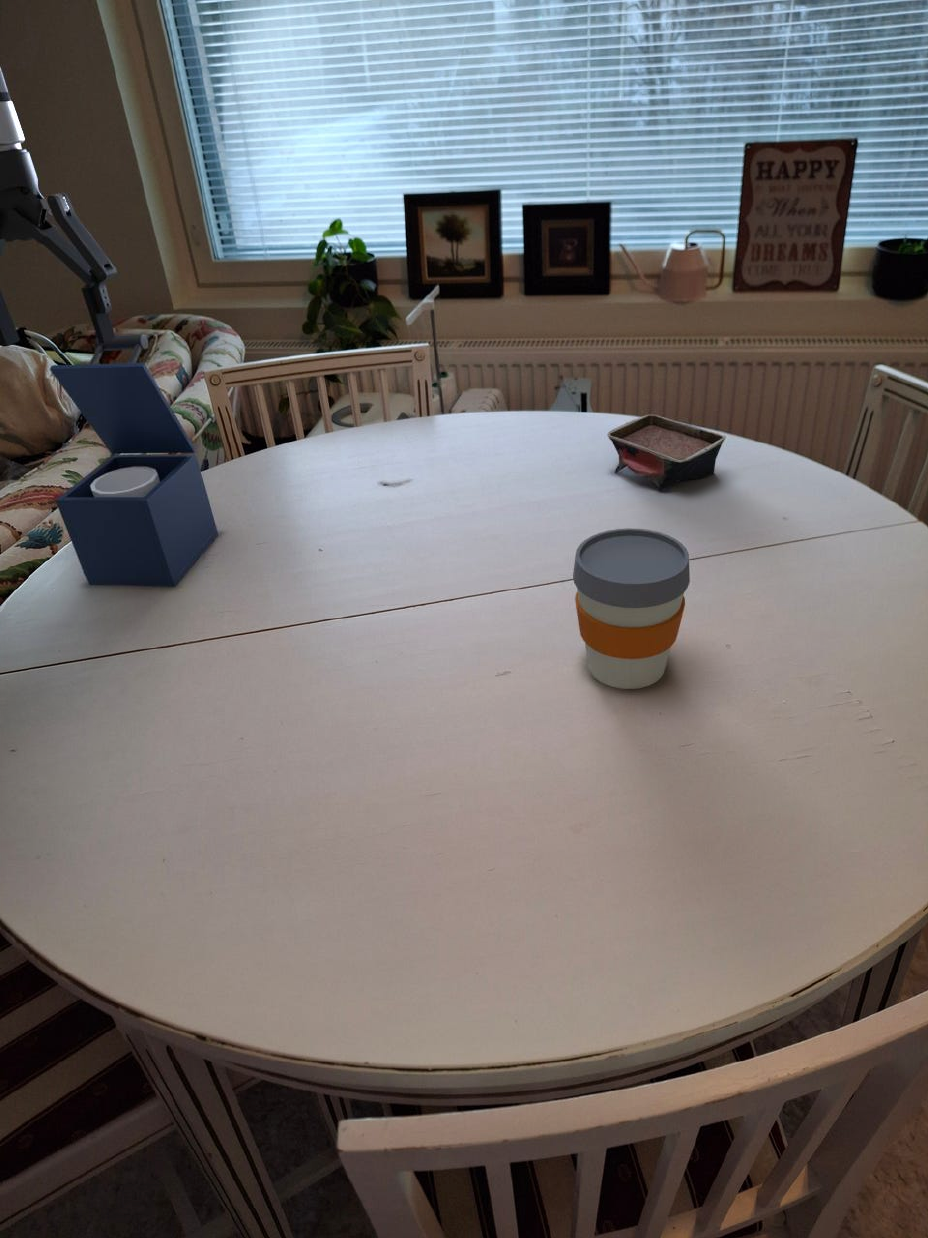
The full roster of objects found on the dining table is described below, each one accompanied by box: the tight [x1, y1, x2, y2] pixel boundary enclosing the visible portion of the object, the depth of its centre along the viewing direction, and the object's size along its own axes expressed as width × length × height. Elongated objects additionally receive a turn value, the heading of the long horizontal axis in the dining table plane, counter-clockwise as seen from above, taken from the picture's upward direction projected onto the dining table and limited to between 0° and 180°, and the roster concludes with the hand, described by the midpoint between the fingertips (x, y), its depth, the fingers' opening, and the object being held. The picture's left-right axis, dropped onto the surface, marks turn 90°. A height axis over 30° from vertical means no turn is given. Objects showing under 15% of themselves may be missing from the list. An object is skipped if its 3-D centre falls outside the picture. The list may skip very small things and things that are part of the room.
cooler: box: [54, 453, 219, 587], centre depth 122 cm, size 16×14×14 cm
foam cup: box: [90, 467, 160, 497], centre depth 120 cm, size 10×9×13 cm
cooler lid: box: [49, 333, 197, 455], centre depth 119 cm, size 17×14×9 cm
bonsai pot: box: [607, 413, 727, 491], centre depth 135 cm, size 14×18×10 cm
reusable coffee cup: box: [572, 527, 691, 690], centre depth 90 cm, size 13×13×15 cm
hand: (58, 342), depth 102 cm, fingers open, 13 cm apart
